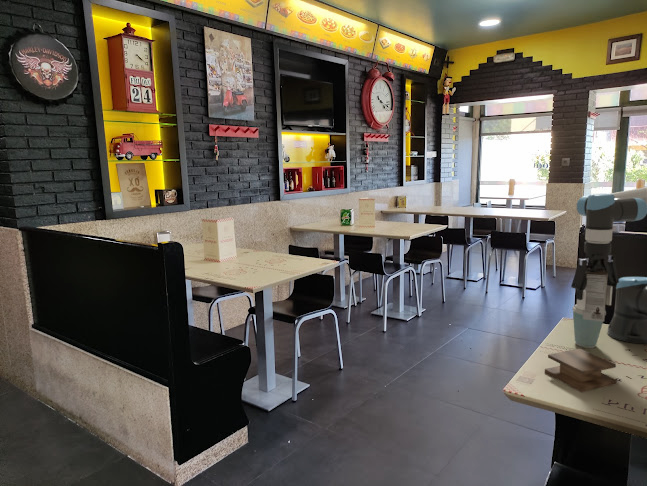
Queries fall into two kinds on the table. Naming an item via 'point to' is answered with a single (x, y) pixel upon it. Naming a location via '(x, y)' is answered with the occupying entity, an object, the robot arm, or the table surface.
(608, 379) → the pedestal
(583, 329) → the disposable coffee cup
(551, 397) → the table surface
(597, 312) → the coffee box
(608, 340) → the table surface
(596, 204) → the robot arm
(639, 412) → the table surface
